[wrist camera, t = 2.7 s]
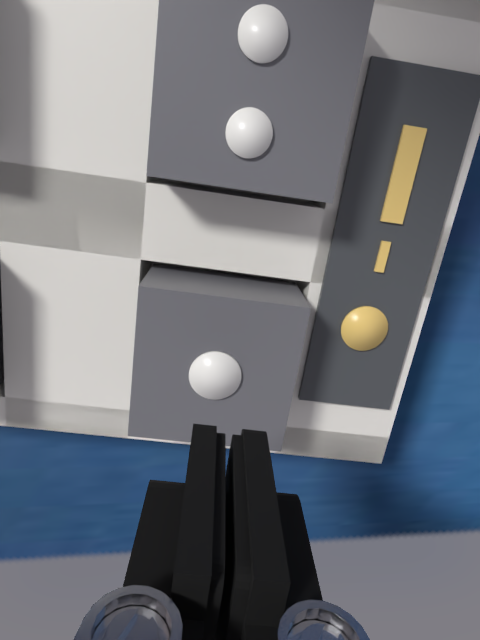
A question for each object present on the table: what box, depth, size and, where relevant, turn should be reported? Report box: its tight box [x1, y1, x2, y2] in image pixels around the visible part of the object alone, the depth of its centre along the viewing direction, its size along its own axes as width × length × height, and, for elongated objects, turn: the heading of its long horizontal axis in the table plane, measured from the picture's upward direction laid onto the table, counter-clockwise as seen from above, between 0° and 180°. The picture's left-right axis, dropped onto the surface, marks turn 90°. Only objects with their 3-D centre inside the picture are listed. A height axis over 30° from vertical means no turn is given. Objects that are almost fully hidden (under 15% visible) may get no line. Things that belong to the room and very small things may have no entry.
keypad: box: [0, 0, 480, 464], centre depth 15 cm, size 16×24×4 cm, turn 82°
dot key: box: [128, 263, 311, 451], centre depth 15 cm, size 5×5×3 cm
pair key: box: [146, 0, 375, 204], centre depth 12 cm, size 5×5×3 cm
